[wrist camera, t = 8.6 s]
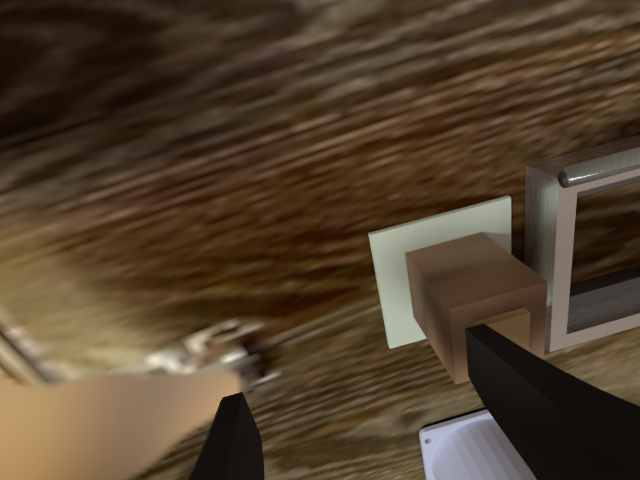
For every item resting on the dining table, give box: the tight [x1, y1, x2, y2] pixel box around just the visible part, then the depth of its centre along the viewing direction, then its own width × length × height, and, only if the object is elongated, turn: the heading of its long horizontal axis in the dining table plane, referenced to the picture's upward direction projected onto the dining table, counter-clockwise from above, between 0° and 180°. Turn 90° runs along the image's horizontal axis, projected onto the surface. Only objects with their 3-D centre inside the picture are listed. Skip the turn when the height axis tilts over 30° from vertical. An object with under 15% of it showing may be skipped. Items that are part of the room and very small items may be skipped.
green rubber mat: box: [368, 196, 511, 349], centre depth 23 cm, size 8×8×1 cm
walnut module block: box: [405, 232, 547, 384], centre depth 21 cm, size 4×4×6 cm
